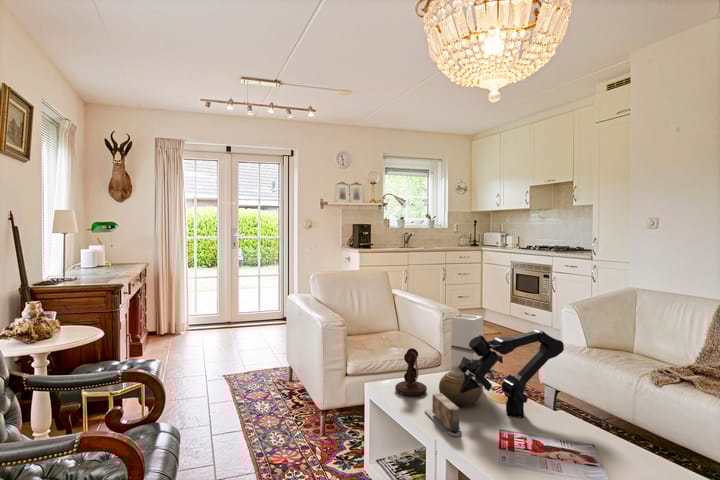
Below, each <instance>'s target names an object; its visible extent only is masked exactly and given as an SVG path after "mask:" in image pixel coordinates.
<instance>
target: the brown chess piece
mask: <svg viewBox="0 0 720 480" xmlns="http://www.w3.org/2000/svg"><path fill="white" fill-rule="evenodd" d="M418 358H419V352H418V350H417V349H415V348H409V349H407V351H406V353H405V354H404V356H403V360H404V362H405V363H406V364H407V368H406V371H405V373H404V376H403V379H404V381H403V380H402V381H400V382H398V383H396V384H395V386H394V387H395V391H396V392H397V393H398V395H401V394H404V395H409V396H411V395H413V396H415V395H416V396H417V395H418V397H419V398H420V397H421V395H422V394H425V393H426V392H427V390H428V389H427V385H426V384H424V383H423V382H420V381H417V380H418V378H419V367H418Z"/></svg>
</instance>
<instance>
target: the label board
mask: <svg viewBox="0 0 720 480" xmlns="http://www.w3.org/2000/svg"><path fill="white" fill-rule="evenodd" d="M424 413H425V414H426V416H427V417H428V418H429V419H430V420H432V421H433V423H435V425H436V426H437V427H438V428H439V429H440V430H441V432H448V430H450V429H449V428H448V427H447V426H446V425H445V424H444V423H443V422H442V421H441V420H440V419H439V418H438V417H437V416H436V415H435V414H434V413H433V412H432V409H429V410H428V409H427V410H424ZM458 430H460V431H461V427H460V426H459V428H458Z"/></svg>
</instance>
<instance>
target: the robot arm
mask: <svg viewBox="0 0 720 480" xmlns="http://www.w3.org/2000/svg"><path fill="white" fill-rule="evenodd" d="M537 342H538V343H539V344H540V345H539V348H538V349H539V350H538V351H537V353H536V354H535V355H534V356H533V357H532V358H531V359H530V360H529V361H528V362H527V363H526V364H525V365H524V366H523V367H522V369H521V370H519V371H518V372H517V373H516V374H515V375H513V374H508V375H507V376H506V378H504V379H503V380H502V381H503V382H502V383H501V390H502V393H504V397H507V400H505V401H506V402H505V413H506V416H508V417H509V416H510V417H517V418H522V419H523V418H524V417H525V416H524V415H525V410H524V404H525V403H527V402H528V400H529V397H528V396H527V395H526V393H525V391H526V386H527V383H528V382H529V381H531V379H532V378H533V377H534V376H535V375H537V374H536V373H538V372H539V371H540V369H541V368H542V367H543V366H544V365H545V364H546V363H547V362H548V361H549V360H551V359H553V358H556V357H558V356H559V355H560V354H562V353H563V352H564V350H565V348H564V347H565V344H564V342H563V341H562V340H559V339H557V338H555V337H553V336H550V335H549V334H547V333H546V332H545V331H543V330H539V329H534V330H531V331H528V332H524V333H522V334H517V335H513V336H501V337H500V336H499V337H494V338H493V339H491V340H488V341H487V340H486V338H485V337H484V335H483V336H482V335H479V336H478V337H475V338H473V339H472V340H471V341H470V342H469V347H470V348H471V349H472V350H473V351H474V352H475V353H476V354H477V355H478V356H482V357H481V358H480V359H479V360H477V359H476V360H474V359H472V360H470V359H468V358H465V357H463V359H462V361H461V363H460V365H459V366H458V368H459V369H460V370H461V371H462V372H463V374H464V381H463V384H462V386H461V389H460V392H461V393H464V392H467V391H469V390H472V389H475V388H478V387H479V388H480V386H479V385H480V384H482V385H483V388H484V389H485V390H486V391H488V392H490V391H491V389H492V386H493V385H492V382H490V380H489V379H487V378H486V376H487V374H491V373H492V369H493V367H494V366H495V365H496V363H500V364H503V363H504V361H503V360H504V359H503V356H504V355H505V356H506V355H508V354H510V353H512V352H513V351H514V350H515V349H517V348H519V347H524V346H527V345H530V344H533V343H537Z"/></svg>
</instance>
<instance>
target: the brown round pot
mask: <svg viewBox="0 0 720 480" xmlns="http://www.w3.org/2000/svg"><path fill="white" fill-rule="evenodd" d="M459 365H460V363H456V364H455V365H454V366H453V369H452V370H451V369H450V371H448V372H446V373H445V374H444V375H443V376H442V377H440V381H439V383H438V391H439V393H442V394H443V395H444V396H445V397H447V398H448V399H449V400H450V401H451V402H452V403H454V404H455V405H456V406H457V407H458V408H470V407H473V406H475V405H476V404H477V402H478V401H479V399H480V398H481V395H482V393H483V388H482V385H481V384H480V385H479V386H480V388H479V387H478V388H475V389H472V390H469V391H467V392H464V393H461V392H460V389H461V386H462V384H463V381H464V374H463V372H462V371H461V370H460V369H459V368H458V366H459Z"/></svg>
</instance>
